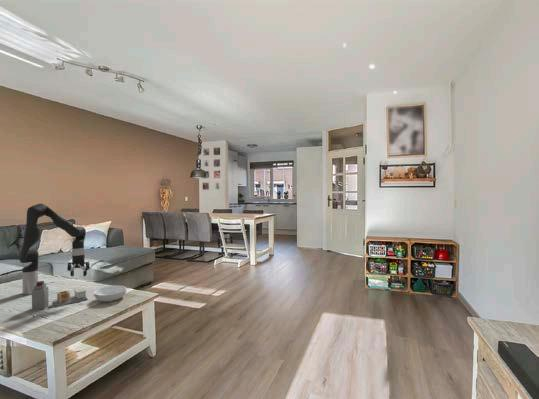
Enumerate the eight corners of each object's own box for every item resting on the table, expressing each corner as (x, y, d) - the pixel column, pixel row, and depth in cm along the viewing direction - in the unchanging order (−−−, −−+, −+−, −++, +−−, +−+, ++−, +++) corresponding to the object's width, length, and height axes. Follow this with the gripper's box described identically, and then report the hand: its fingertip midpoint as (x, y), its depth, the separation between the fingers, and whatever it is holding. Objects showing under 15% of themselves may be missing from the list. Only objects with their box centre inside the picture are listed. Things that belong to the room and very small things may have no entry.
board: (53, 302, 196) (52, 293, 196) (82, 295, 209) (82, 287, 209) (56, 307, 188) (56, 298, 188) (87, 299, 201) (87, 291, 201)
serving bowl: (112, 306, 191) (112, 296, 190) (86, 303, 195) (86, 293, 195) (132, 295, 211) (132, 286, 211) (109, 293, 215) (109, 284, 215)
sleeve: (57, 300, 196) (57, 292, 195) (67, 298, 200) (67, 290, 200) (59, 303, 192) (59, 294, 191) (69, 300, 196) (69, 292, 196)
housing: (74, 296, 204) (74, 289, 204) (83, 294, 208) (82, 287, 208) (77, 299, 198) (77, 292, 198) (86, 297, 202) (86, 290, 202)
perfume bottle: (36, 307, 188) (36, 280, 187) (48, 305, 190) (48, 279, 190) (32, 311, 182) (31, 283, 181) (44, 309, 184) (44, 282, 183)
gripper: (64, 255, 197) (65, 278, 198) (85, 254, 198) (85, 277, 199) (71, 253, 205) (71, 275, 205) (91, 252, 206) (91, 274, 206)
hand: (78, 276), depth 202 cm, fingers open, 8 cm apart
